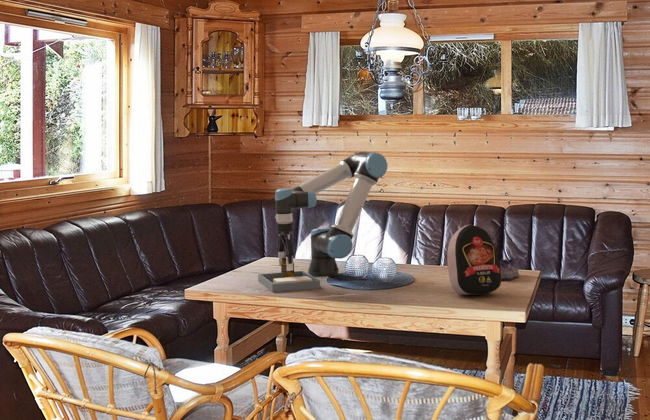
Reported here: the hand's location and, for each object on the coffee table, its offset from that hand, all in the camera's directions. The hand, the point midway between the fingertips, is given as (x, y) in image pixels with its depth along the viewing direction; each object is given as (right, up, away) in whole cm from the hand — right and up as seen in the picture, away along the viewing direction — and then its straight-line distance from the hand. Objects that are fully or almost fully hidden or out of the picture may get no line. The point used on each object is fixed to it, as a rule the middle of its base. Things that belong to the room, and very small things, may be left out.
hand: (285, 268), depth 406 cm
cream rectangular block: (+4, -8, -11) cm, 14 cm away
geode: (+104, -6, +11) cm, 105 cm away
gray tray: (+1, -8, -4) cm, 9 cm away
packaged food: (+82, -10, -26) cm, 87 cm away
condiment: (0, -7, +1) cm, 7 cm away
